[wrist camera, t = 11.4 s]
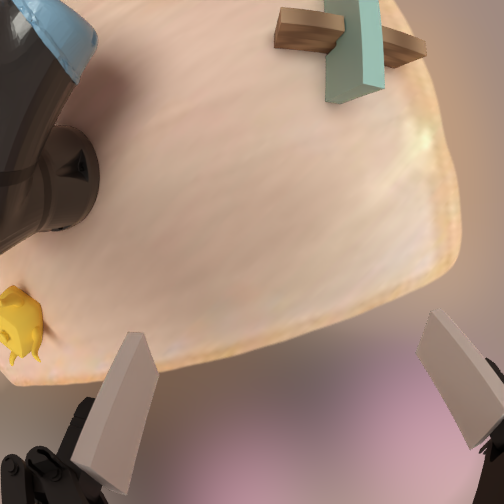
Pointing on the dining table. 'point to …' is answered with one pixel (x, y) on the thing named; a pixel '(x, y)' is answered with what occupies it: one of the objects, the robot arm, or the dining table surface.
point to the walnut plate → (331, 28)
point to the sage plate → (355, 51)
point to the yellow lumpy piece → (20, 323)
